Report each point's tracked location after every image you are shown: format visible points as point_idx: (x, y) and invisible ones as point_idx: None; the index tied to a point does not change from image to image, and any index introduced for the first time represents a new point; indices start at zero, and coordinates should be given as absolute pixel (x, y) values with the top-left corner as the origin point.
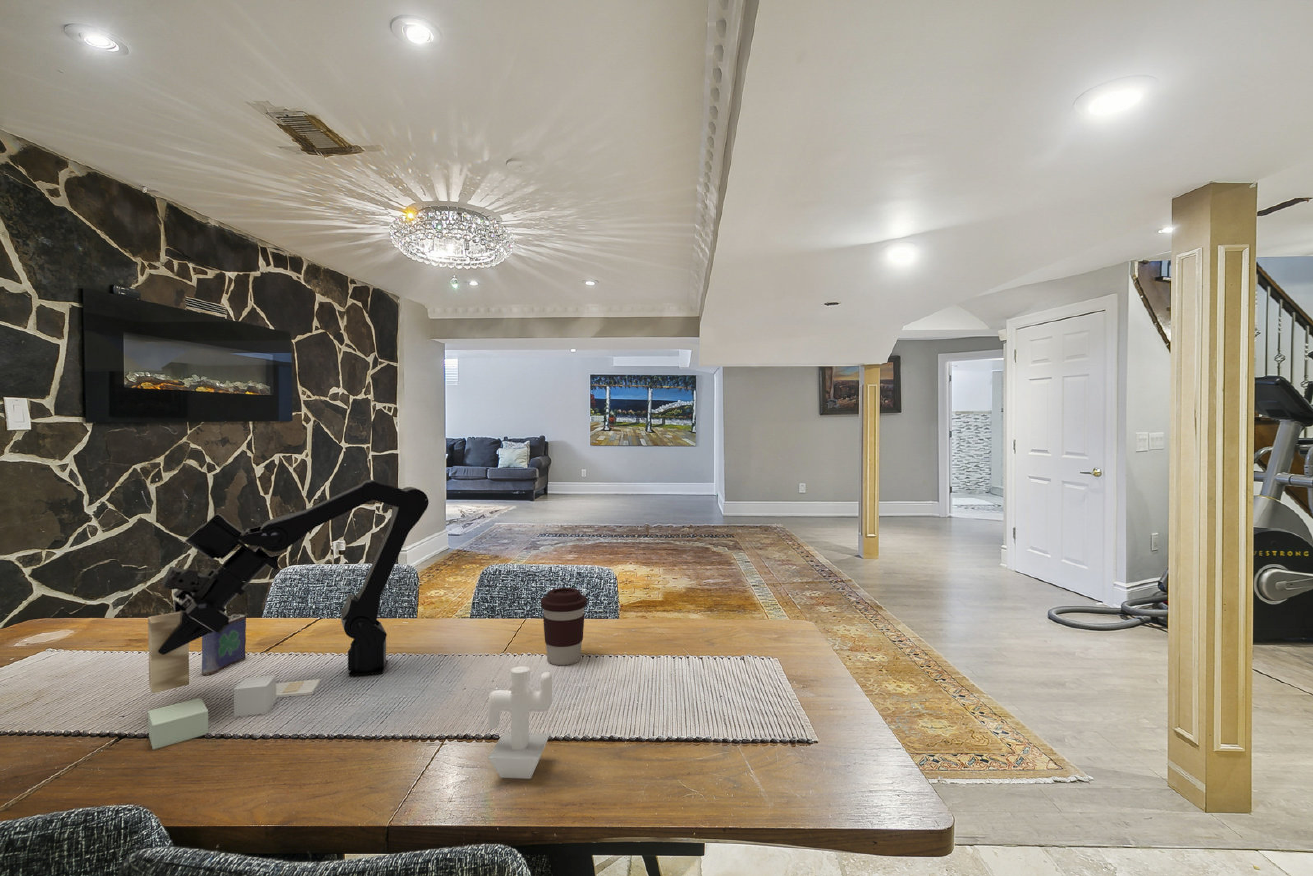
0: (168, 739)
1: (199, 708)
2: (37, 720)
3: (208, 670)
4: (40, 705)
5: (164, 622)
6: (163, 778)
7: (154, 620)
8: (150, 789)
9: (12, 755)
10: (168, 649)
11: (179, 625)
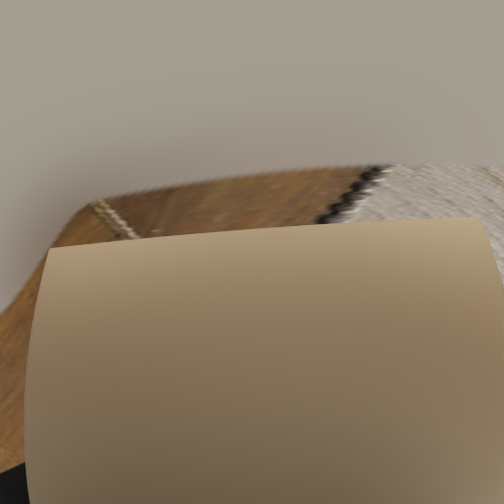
0: None
1: None
2: (421, 190)
3: None
4: (485, 192)
5: (36, 393)
6: (11, 347)
7: (169, 289)
8: (2, 329)
9: (269, 174)
10: None
11: (8, 485)
